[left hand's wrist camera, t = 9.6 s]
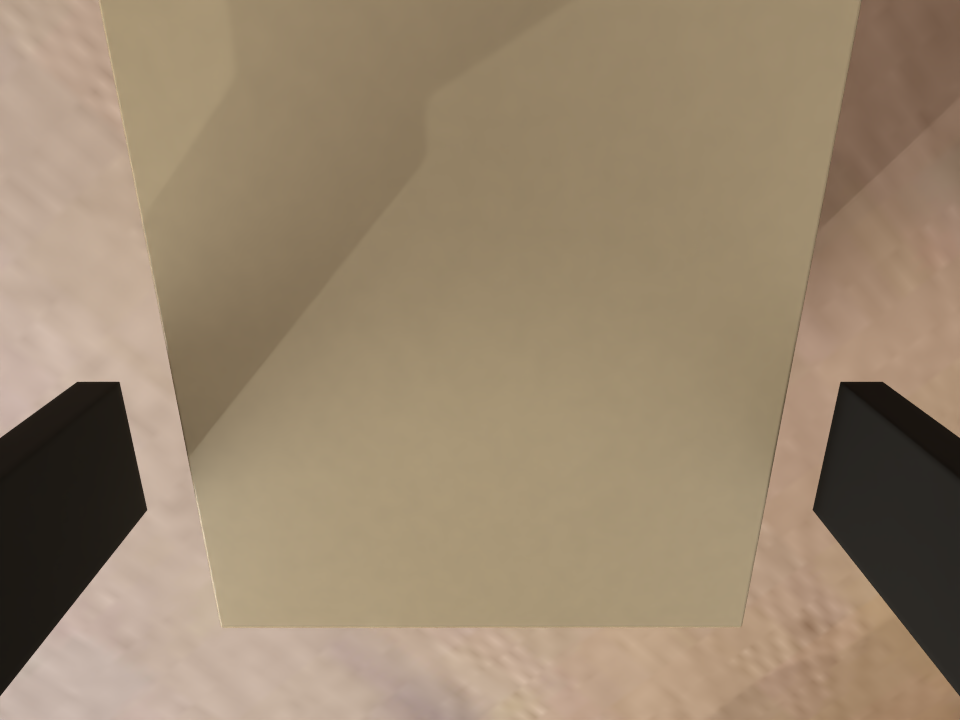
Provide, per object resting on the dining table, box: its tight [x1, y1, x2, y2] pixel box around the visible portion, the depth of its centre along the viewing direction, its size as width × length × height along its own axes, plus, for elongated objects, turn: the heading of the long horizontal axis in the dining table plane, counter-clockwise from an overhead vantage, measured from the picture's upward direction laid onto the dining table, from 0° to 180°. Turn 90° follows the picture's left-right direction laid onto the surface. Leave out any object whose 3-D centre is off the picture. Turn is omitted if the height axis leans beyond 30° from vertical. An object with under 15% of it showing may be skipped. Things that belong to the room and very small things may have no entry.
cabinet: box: [99, 0, 862, 628], centre depth 14 cm, size 20×10×10 cm, turn 0°
